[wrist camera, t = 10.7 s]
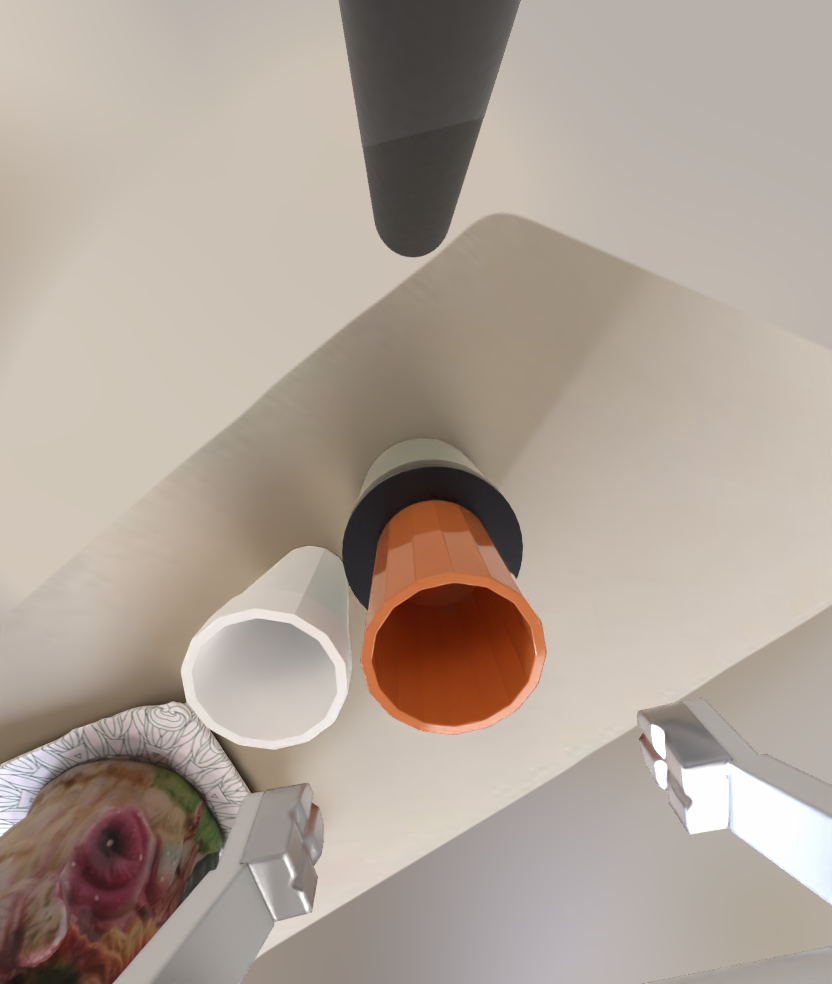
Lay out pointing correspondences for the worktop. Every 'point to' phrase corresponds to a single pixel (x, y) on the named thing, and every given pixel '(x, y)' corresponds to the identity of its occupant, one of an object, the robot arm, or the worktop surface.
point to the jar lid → (419, 486)
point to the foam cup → (275, 655)
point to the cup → (447, 624)
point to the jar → (414, 457)
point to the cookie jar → (107, 840)
